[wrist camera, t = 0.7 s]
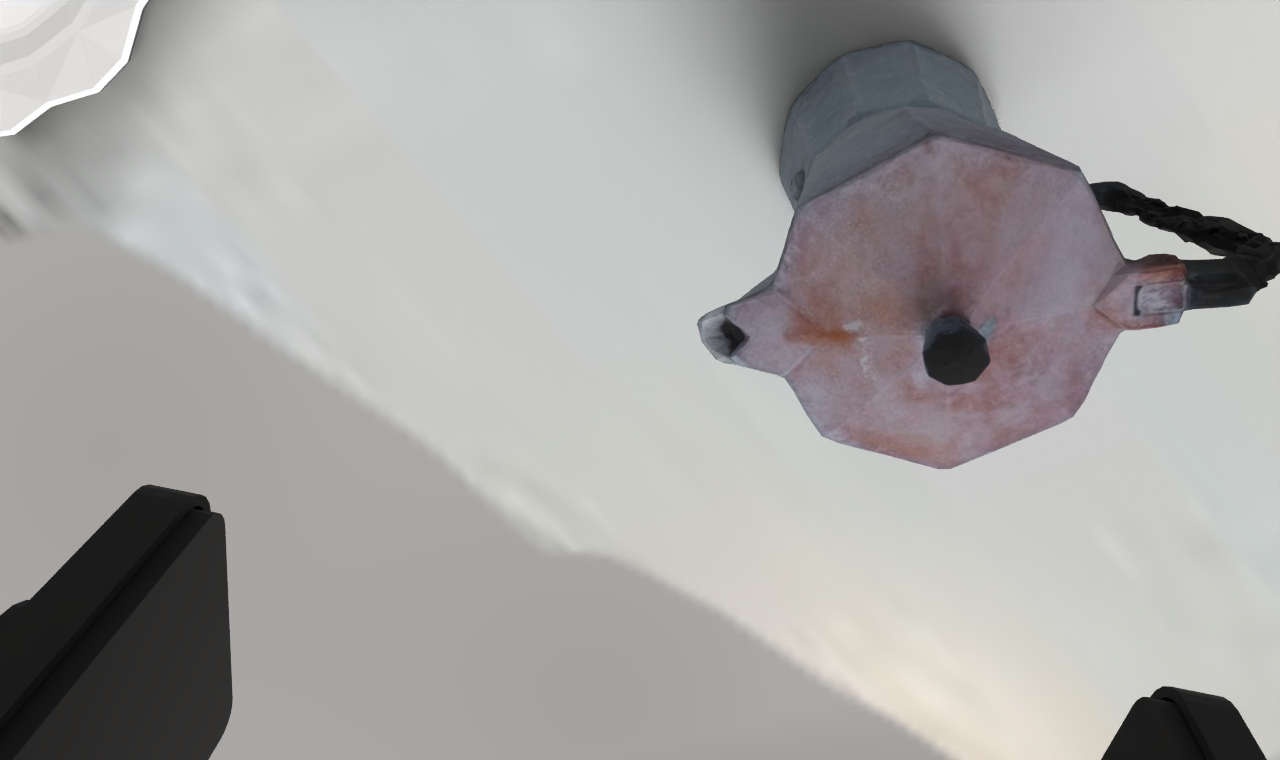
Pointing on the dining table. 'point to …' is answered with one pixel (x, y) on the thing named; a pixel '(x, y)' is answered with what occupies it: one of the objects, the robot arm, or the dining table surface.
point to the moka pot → (954, 267)
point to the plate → (60, 52)
